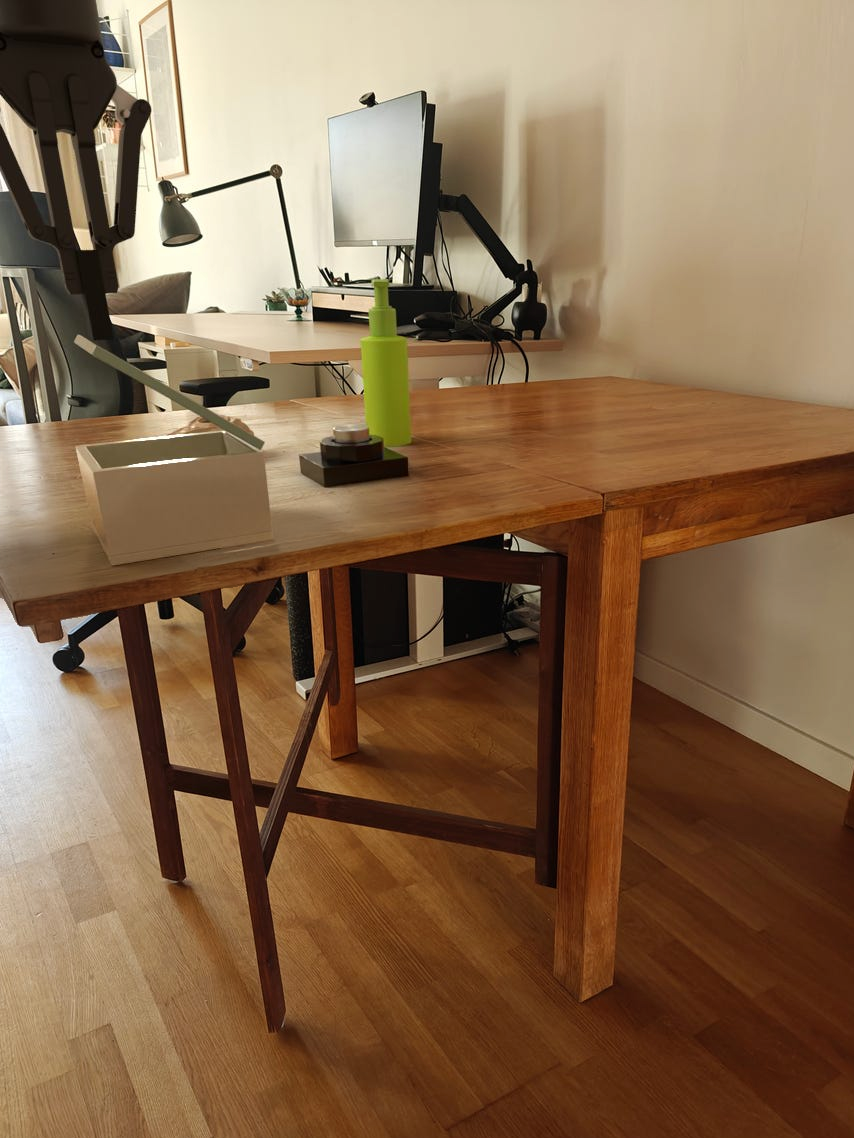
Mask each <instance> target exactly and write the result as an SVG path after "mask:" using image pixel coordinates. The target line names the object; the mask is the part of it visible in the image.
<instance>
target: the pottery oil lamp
mask: <svg viewBox="0 0 854 1138" xmlns="http://www.w3.org/2000/svg"><path fill="white" fill-rule="evenodd" d="M219 415H220V416H221V417H223V418H225V419H227V420H228V421H230V422H232V423H233V424H235V425H237V426H239V427H240V428H242V429H244V430H245V431H247V432H249V433H250V434H252V435H254V436H255V432H254V431H253V430H252V429H251V428H250V427H249V426H248V425H247V424H246V423H245V422H243V421H242V419H241V418H237V417H234V416H229V415H228V416H227V415H224V414H219ZM223 430H224V429H222V428H220V427H218V426H217V425H215V424H213V423H211V422H210V421H208V420H206V419H204V418H203V417H201V416H197V417H195V418H193V419H192V420H190V421H189V422H188V423H187V425H186V426H183V427H180V428H178V429H175V430H173V431H171V432H170V433H167V434H166V435H164V436H163V437H165V436H175V435H185V434H194V433H204V432H214V431H223Z"/></svg>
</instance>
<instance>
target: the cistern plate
mask: <svg viewBox="0 0 854 1138" xmlns="http://www.w3.org/2000/svg"><path fill="white" fill-rule="evenodd" d="M369 436H370V441H369V442H366V443H358V444H339V443H334V437H333V435H330V436H327V437H323V438H322V439H321V440H320V441H319V448H320V449H319V450H320V451H316V452H309V453H301V454H300V453H299V454H298V459H299V460H298V461H299V469H300V474H301V475H303V476H305V477H306V478H307V479H310V480H311V481H313V482H315V483H316V484H318V485H319V486H321V487H323V488H324V489H326V488H327V489H328V488H334V487H335V488H336V487H340V486H348V485H355V484H362V483H369V482H376V481H383V480H391V479H398V478H405V477H410V473H409V457H408V456H406V455H403V454H402V453H399V452H397V451H394V450H392V449H390V448H389V447H384V441H383V438H382V437H380V436H377V435H370V434H369Z"/></svg>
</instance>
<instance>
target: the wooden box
mask: <svg viewBox="0 0 854 1138" xmlns="http://www.w3.org/2000/svg"><path fill="white" fill-rule="evenodd" d="M164 436H165V437H164ZM164 436H157V437H147V438H138V439H128V440H118V441H110V442H100V443H99V442H98V443H89V444H80V445H75V451H76V456H77V460H78V461H77V462H78V467H79V471H80V476H81V481H82V486H83V490H84V491H83V492H84V496H85V501H86V506H87V509H88V514H89V519H90V524H91V525H90V526H91V529H92V531H93V533H94V536H95V537H96V539H97V541H98V543H99V545H100V547H101V548H102V550H103V552H104V554H105V556H106V559H107V560H108V562H109V563H110V566H111V567H114V566H120V565H126V564H132V563H140V562H145V561H151V560H156V559H164V558H168V557H176V556H181V555H188V554H193V553H199V552H204V551H205V552H206V551H211V550H217V549H222V548H228V547H233V546H234V547H235V546H239V545H246V544H253V543H257V542H258V543H259V542H264V541H269V540H271V541H272V540H274V531H273V522H272V514H271V506H270V505H271V504H270V503H271V502H270V496H269V487H268V486H269V485H268V477H267V470H266V468H267V467H266V461H265V453H264V452H265V451H262V449H261V450H259V449H257V448H256V447H254V446H252V445H250V444H248V443H247V442H245V441H243V440H241V439H240V438H238V437H236V436H234V435H233V434H231V433H229V432H227V431H226V430H223V431H214V432H204V433H194V434H185V435H175V436H166V435H164Z"/></svg>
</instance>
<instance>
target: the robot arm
mask: <svg viewBox="0 0 854 1138" xmlns="http://www.w3.org/2000/svg"><path fill="white" fill-rule="evenodd" d="M97 3H98V2H97V0H0V96H1V98H2V99H3V100H4V101H5V103H7V105H8V106H9V107H10V108H11V109H12V110H13V111H14V113H15V114H16V115H17V116H18V118H19V119H20V120H21V121H22V122H23V123H24V124H25V125H26V127H28V128H29V129H30V130H32V132H33V139H34V144H35V147H36V151H37V156H38V161H39V166H40V167H39V168H40V172H41V177H42V182H43V186H44V192H45V197H46V203H47V207H48V213H49V218H50V223H51V226H50V225H48V224H45V221H44V218H43V216H42V214H41V211H40V210H39V207H38V204H37V203H36V200H35V198H34V196H33V194H32V191H31V189H30V187H29V184H28V182H27V180H26V178H25V175H24V173H23V171H22V169H21V168H22V167H21V166H20V164H19V162H18V159H17V157H16V155H15V152H14V150H13V148H12V146H11V144H10V141H9V138H8V136H7V134H6V132H5V130H4V128H3V126H2V124H1V123H0V174H1V177H2V180H3V182H4V183H5V186H6V188H7V190H8V192H9V195H10V197H11V199H12V202H13V204H14V206H15V208H16V211H17V213H18V215H19V217H20V219H21V221H22V224H23V226H24V229H25V230H26V233H27V235H28V236H29V237H30V238H31V239H32V240H35V241H39V242H42V243H44V244H47V245H50V246H51V247H53V248H54V249H55V251H56V252H57V256H58V259H59V265H60V271H61V275H62V280H63V286H64V288H65V290H66V292H67V294H68V295H80V296H81V302H82V305H83V307H82V308H83V312H84V317H85V323H86V327H87V334H88V338H89V339H90V340H92V341H108V340H111V341H112V340H114V333H113V327H112V323H111V322H112V321H111V315H110V311H109V305H108V300H107V294H118V291H119V286H120V285H119V279H118V275H117V274H118V273H117V269H116V268H117V267H116V262H115V257H114V248H115V247H116V245H118V244H121V243H124V242H125V241H127V240H131V239H133V238H134V236H135V232H136V221H137V220H136V219H137V217H136V216H137V206H138V205H137V204H138V189H139V175H140V159H141V143H142V134H143V132H144V130H145V128H146V126H147V123H148V121H149V119H150V117H151V114H152V111H153V110H152V106H151V104H150V102H149V101H148V100H146V99H144V98H139V99H138V98H137V97H135V96H134V95H132V94H131V93H129V92H128V91H127V90H126V89H124V88H123V87H121V86H120V85H119V84H118V80H117V77H116V74H115V72H114V70H113V69H112V67H111V65H110V64H109V61H108V59H107V56H106V52H105V46H104V40H103V33H102V29H101V22H100V15H99V10H98V4H97ZM111 102H112V103H113V105H114V118H115V120H116V121H117V123H118V124H120V125H121V126H120V130H119V136H118V144H117V162H116V177H115V179H116V180H115V195H114V210H113V211H114V212H113V225H110V222H109V221H110V220H109V217H108V211H107V204H106V199H105V195H104V194H105V193H104V187H103V183H102V176H101V170H100V165H99V159H98V154H97V153H98V152H97V143H96V137H95V136H96V135H95V130H96V129H97V127H98V126H99V125H100V122H101V120H102V119H103V116H104V115H105V112H106V110H107V109H108V107H109V105H110V103H111ZM0 112H1V108H0ZM58 133H64V134H68V135H70V140H71V144H72V149H73V151H74V157H75V161H76V167H77V173H78V178H79V182H80V190H81V195H82V199H83V206H84V211H85V217H86V222H87V227H88V233H89V239H90V242H91V244H92V249H77V246H76V236H75V232H74V225H73V220H72V214H71V210H70V204H69V198H68V192H67V188H66V182H65V177H64V172H63V166H62V159H61V155H60V150H59V141H58V140H59V139H58Z"/></svg>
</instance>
